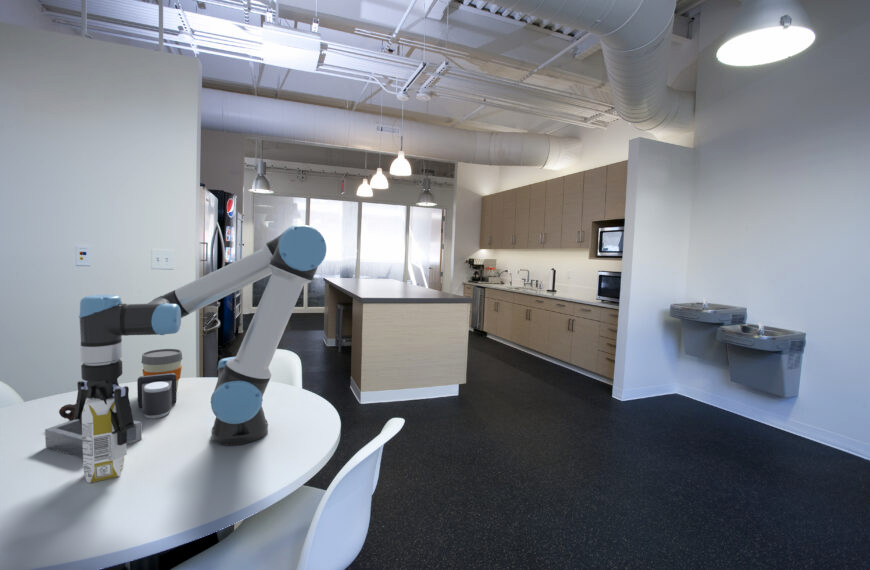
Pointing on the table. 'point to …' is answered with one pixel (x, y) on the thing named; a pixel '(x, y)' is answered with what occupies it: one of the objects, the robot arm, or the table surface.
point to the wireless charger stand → (156, 394)
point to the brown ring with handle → (66, 408)
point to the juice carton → (99, 441)
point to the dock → (79, 437)
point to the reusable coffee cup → (162, 362)
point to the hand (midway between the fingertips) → (104, 452)
